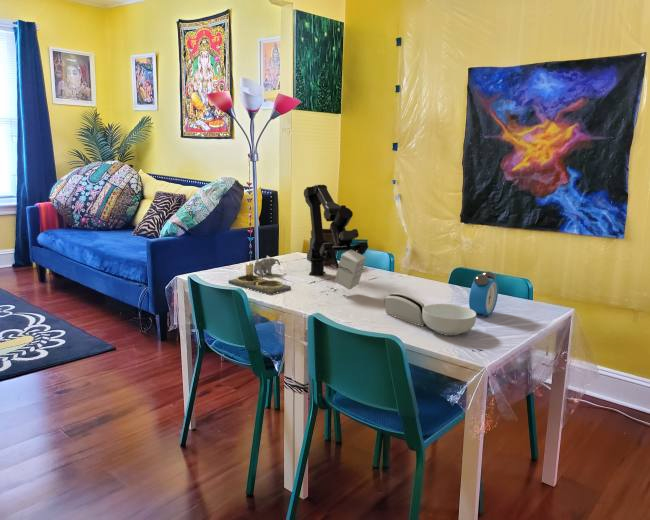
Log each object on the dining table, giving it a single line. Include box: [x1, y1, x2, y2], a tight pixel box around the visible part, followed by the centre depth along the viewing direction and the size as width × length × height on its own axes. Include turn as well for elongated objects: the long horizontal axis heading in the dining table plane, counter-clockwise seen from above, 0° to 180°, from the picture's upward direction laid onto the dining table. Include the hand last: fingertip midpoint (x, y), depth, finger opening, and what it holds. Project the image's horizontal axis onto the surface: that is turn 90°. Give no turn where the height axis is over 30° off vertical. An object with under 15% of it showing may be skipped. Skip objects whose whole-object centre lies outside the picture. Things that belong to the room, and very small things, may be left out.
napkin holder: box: [384, 292, 426, 326], centre depth 188 cm, size 17×5×10 cm, turn 40°
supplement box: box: [334, 250, 367, 291], centre depth 214 cm, size 7×7×13 cm
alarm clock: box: [468, 271, 499, 318], centre depth 196 cm, size 13×6×15 cm, turn 144°
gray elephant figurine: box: [253, 255, 281, 277], centre depth 246 cm, size 9×12×8 cm
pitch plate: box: [228, 262, 292, 295], centre depth 224 cm, size 24×12×8 cm, turn 50°
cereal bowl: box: [422, 303, 477, 336], centre depth 177 cm, size 17×17×7 cm
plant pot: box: [310, 228, 338, 266], centre depth 268 cm, size 15×15×16 cm
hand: (349, 267), depth 214 cm, fingers closed on supplement box, 9 cm apart
